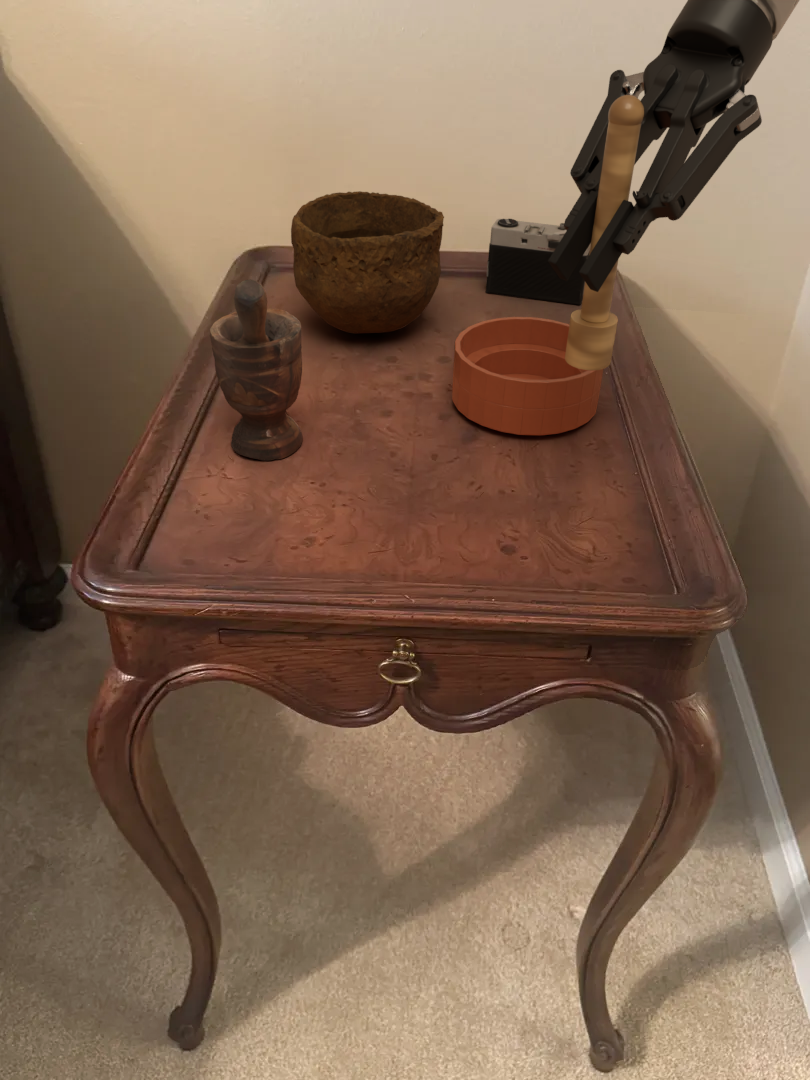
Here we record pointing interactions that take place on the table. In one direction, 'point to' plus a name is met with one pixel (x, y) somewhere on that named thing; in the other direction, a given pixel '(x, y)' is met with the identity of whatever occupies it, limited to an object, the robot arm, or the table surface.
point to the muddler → (594, 319)
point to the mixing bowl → (522, 377)
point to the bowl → (367, 259)
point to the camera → (530, 263)
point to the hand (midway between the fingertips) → (573, 276)
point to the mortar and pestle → (259, 372)
